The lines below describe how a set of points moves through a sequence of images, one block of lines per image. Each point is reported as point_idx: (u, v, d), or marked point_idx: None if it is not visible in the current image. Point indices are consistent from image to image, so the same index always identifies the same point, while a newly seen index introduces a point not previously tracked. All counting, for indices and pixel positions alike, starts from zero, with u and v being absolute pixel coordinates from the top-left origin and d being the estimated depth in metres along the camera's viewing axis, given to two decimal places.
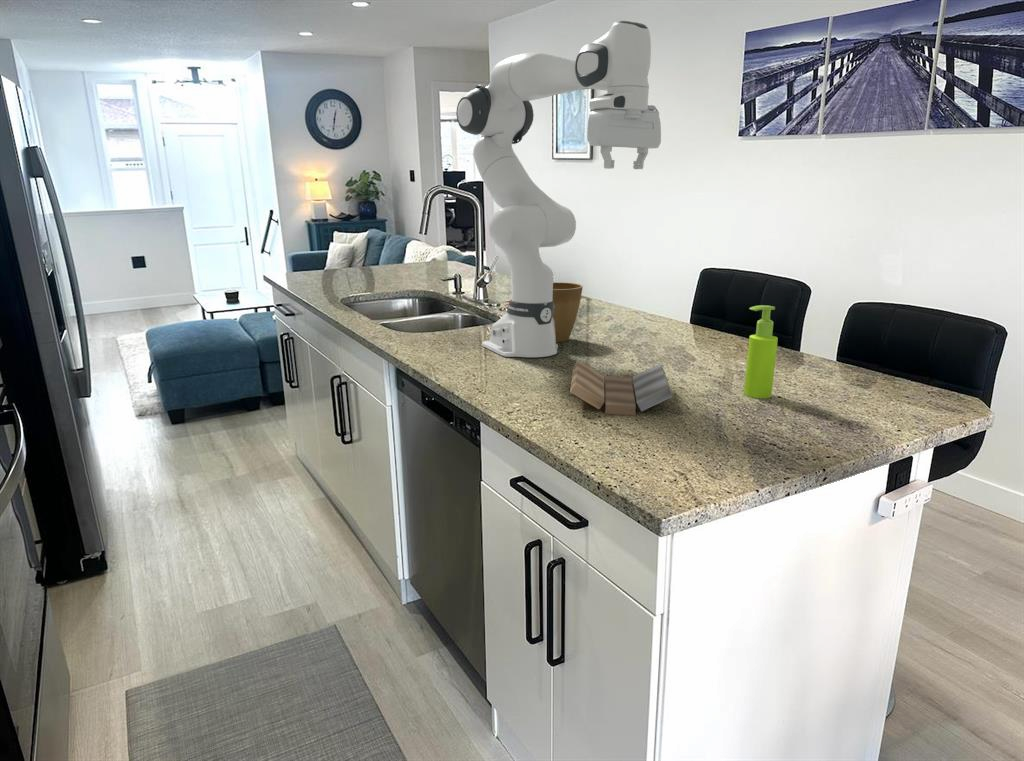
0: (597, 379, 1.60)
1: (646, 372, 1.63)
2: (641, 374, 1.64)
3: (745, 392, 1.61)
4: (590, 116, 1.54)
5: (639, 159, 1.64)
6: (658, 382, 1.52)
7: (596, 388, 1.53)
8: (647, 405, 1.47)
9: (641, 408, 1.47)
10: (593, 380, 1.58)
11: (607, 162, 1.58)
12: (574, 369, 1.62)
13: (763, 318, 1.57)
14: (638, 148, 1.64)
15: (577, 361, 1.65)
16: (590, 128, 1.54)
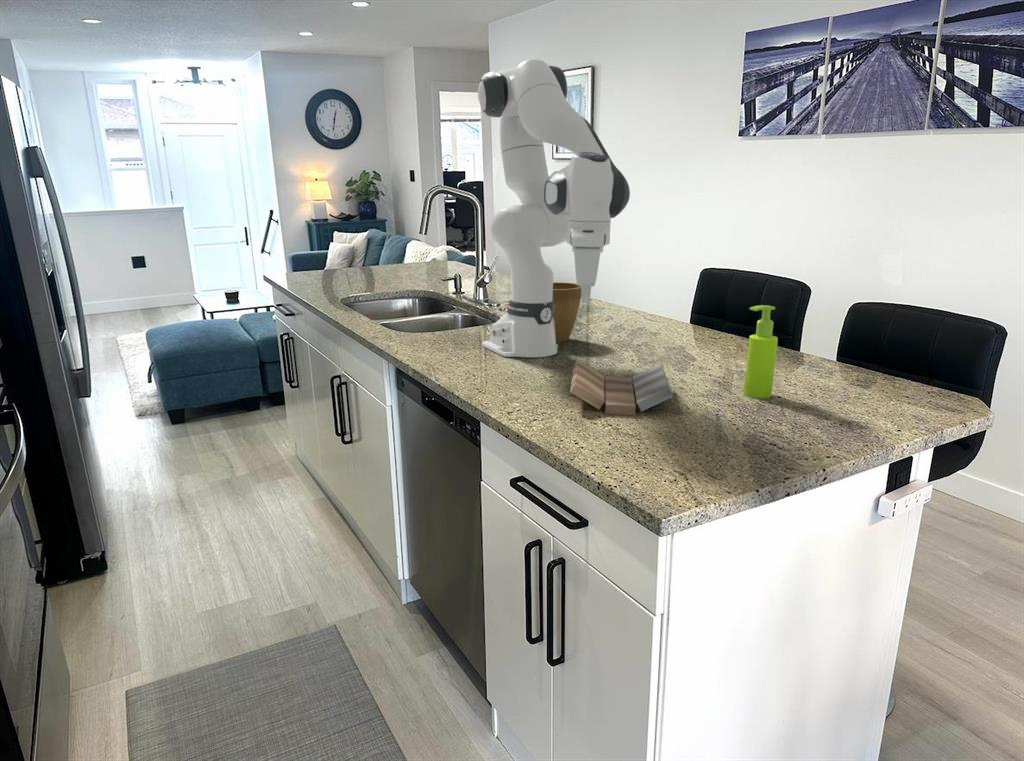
0: (597, 379, 1.60)
1: (646, 372, 1.63)
2: (641, 374, 1.64)
3: (745, 392, 1.61)
4: (578, 255, 1.41)
5: None
6: (658, 382, 1.52)
7: (596, 388, 1.53)
8: (647, 405, 1.47)
9: (641, 408, 1.47)
10: (593, 380, 1.58)
11: (586, 296, 1.51)
12: (574, 369, 1.62)
13: (763, 318, 1.57)
14: None
15: (577, 361, 1.65)
16: (580, 268, 1.41)
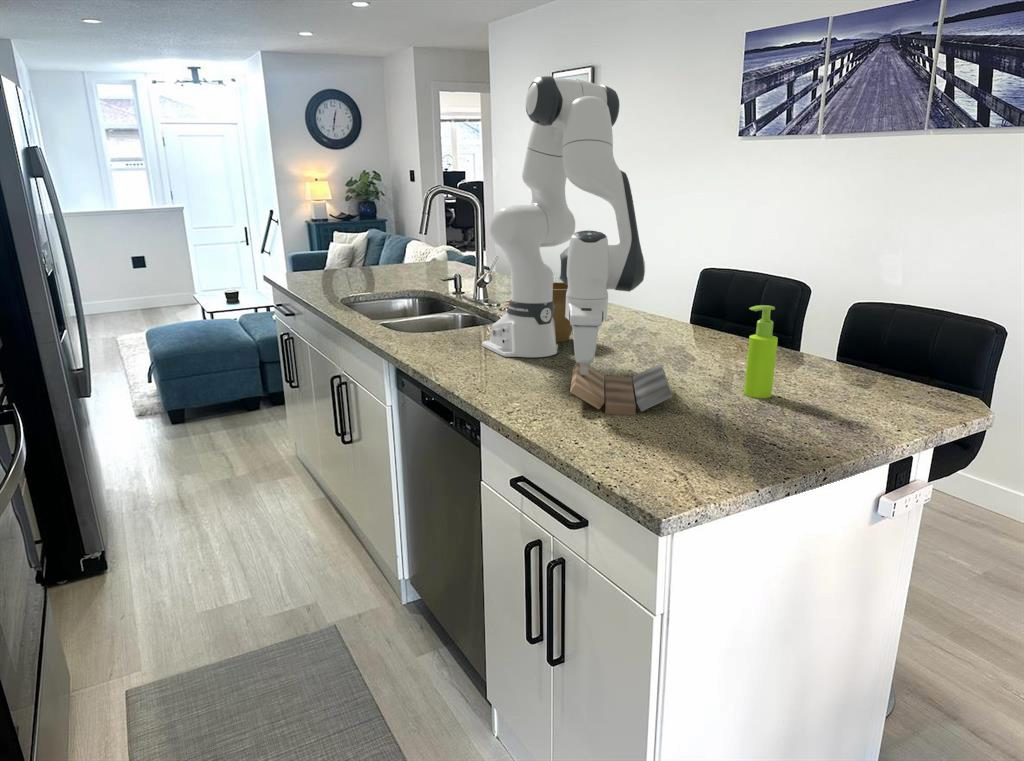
0: (597, 379, 1.60)
1: (646, 372, 1.63)
2: (641, 374, 1.64)
3: (745, 392, 1.61)
4: (577, 334, 1.45)
5: None
6: (658, 382, 1.52)
7: (596, 388, 1.53)
8: (647, 405, 1.47)
9: (641, 408, 1.47)
10: (593, 380, 1.58)
11: (585, 369, 1.55)
12: (574, 369, 1.62)
13: (763, 318, 1.57)
14: None
15: None
16: (579, 346, 1.45)
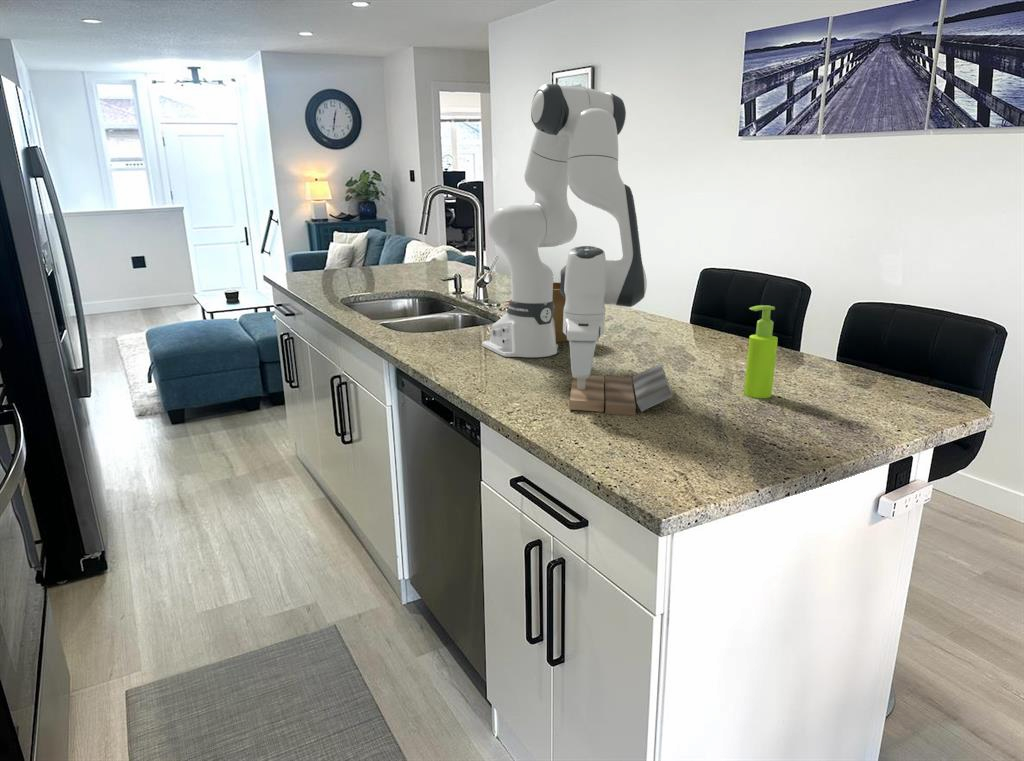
0: (596, 383, 1.61)
1: (646, 372, 1.63)
2: (641, 374, 1.64)
3: (745, 392, 1.61)
4: (574, 349, 1.46)
5: None
6: (658, 382, 1.52)
7: (594, 393, 1.54)
8: (647, 405, 1.47)
9: (641, 408, 1.47)
10: (591, 386, 1.58)
11: (582, 383, 1.55)
12: None
13: (763, 318, 1.57)
14: None
15: None
16: (576, 361, 1.46)
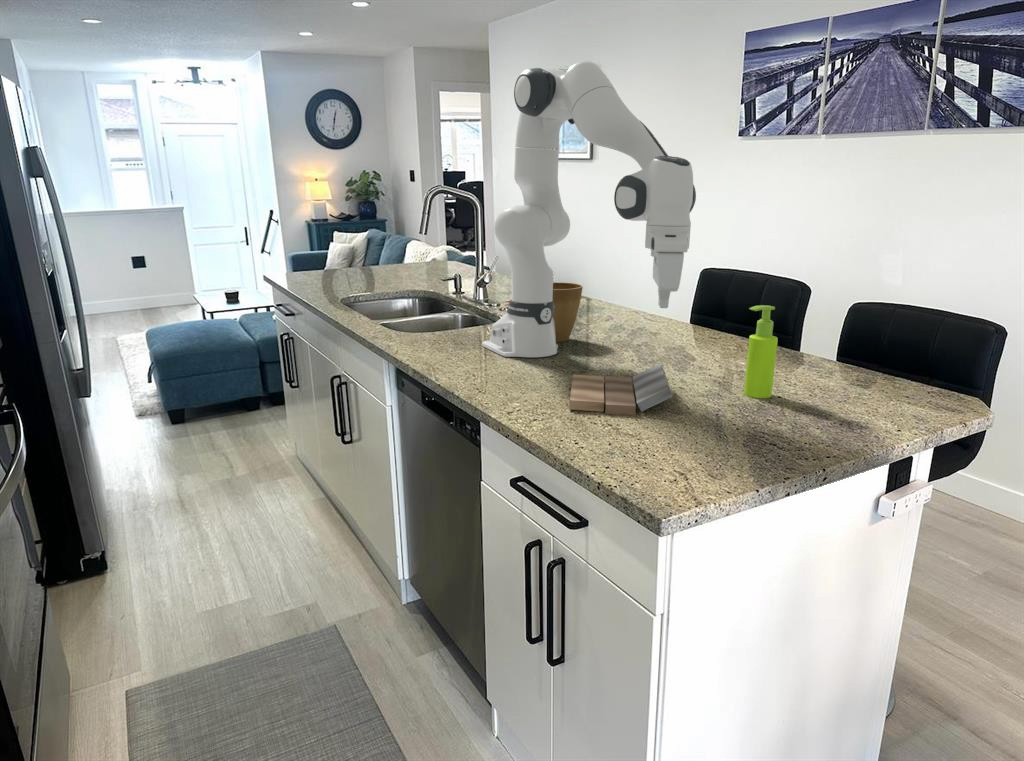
0: (596, 383, 1.61)
1: (646, 372, 1.63)
2: (641, 374, 1.64)
3: (745, 392, 1.61)
4: (662, 260, 1.39)
5: None
6: (658, 382, 1.52)
7: (594, 393, 1.54)
8: (647, 405, 1.47)
9: (641, 408, 1.47)
10: (591, 386, 1.58)
11: (665, 301, 1.49)
12: None
13: (763, 318, 1.57)
14: None
15: None
16: (664, 273, 1.39)
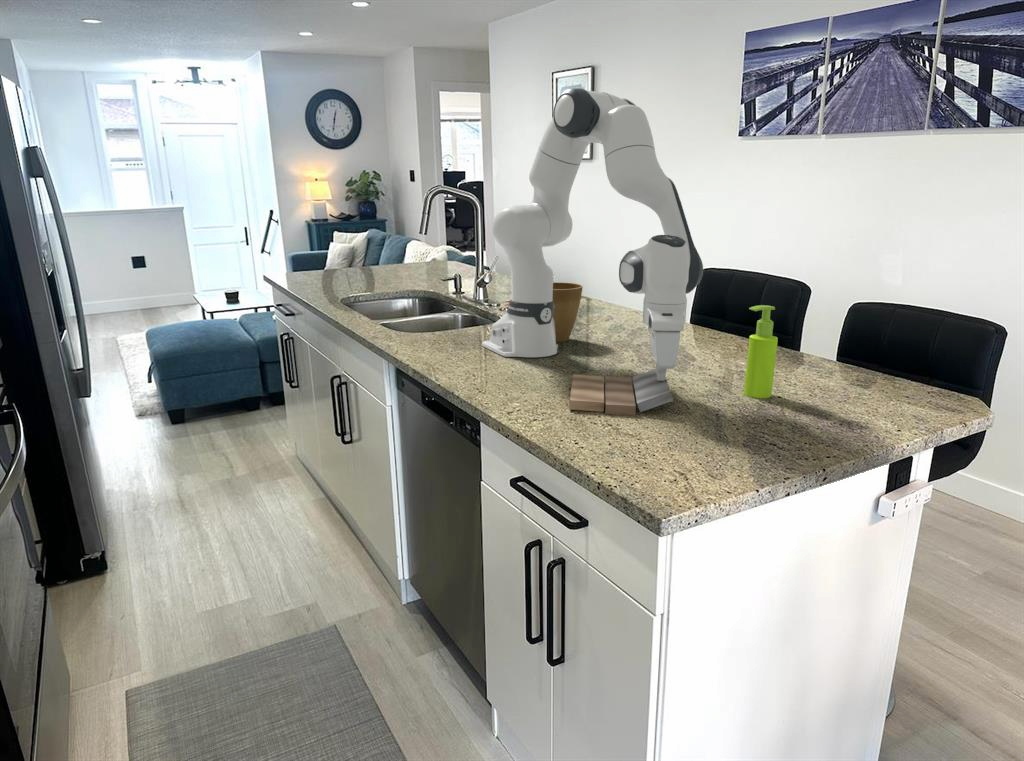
0: (596, 383, 1.61)
1: (647, 374, 1.63)
2: (641, 375, 1.64)
3: (745, 392, 1.61)
4: (659, 339, 1.43)
5: None
6: (659, 384, 1.52)
7: (594, 393, 1.54)
8: (647, 406, 1.47)
9: (640, 409, 1.47)
10: (591, 386, 1.58)
11: (662, 374, 1.53)
12: None
13: (763, 318, 1.57)
14: None
15: None
16: (661, 352, 1.44)
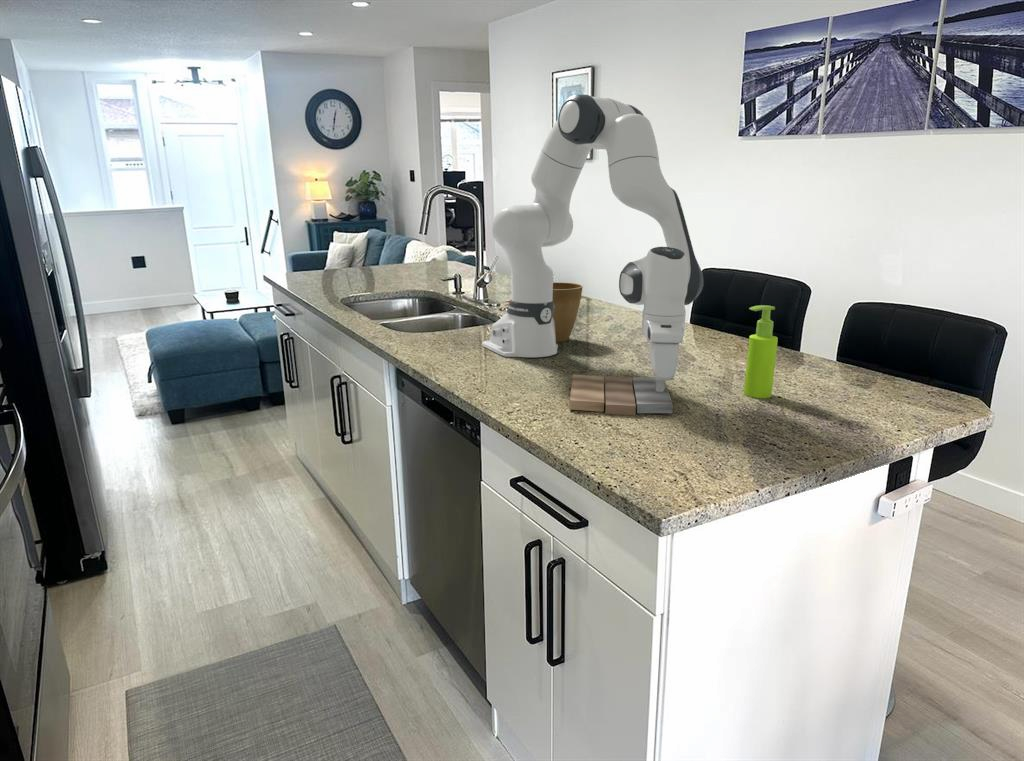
0: (596, 383, 1.61)
1: (648, 379, 1.64)
2: (642, 379, 1.64)
3: (745, 392, 1.61)
4: (658, 351, 1.44)
5: None
6: (661, 393, 1.53)
7: (594, 393, 1.54)
8: (645, 410, 1.47)
9: (638, 410, 1.47)
10: (591, 386, 1.58)
11: (661, 385, 1.54)
12: None
13: (763, 318, 1.57)
14: None
15: None
16: (660, 363, 1.44)
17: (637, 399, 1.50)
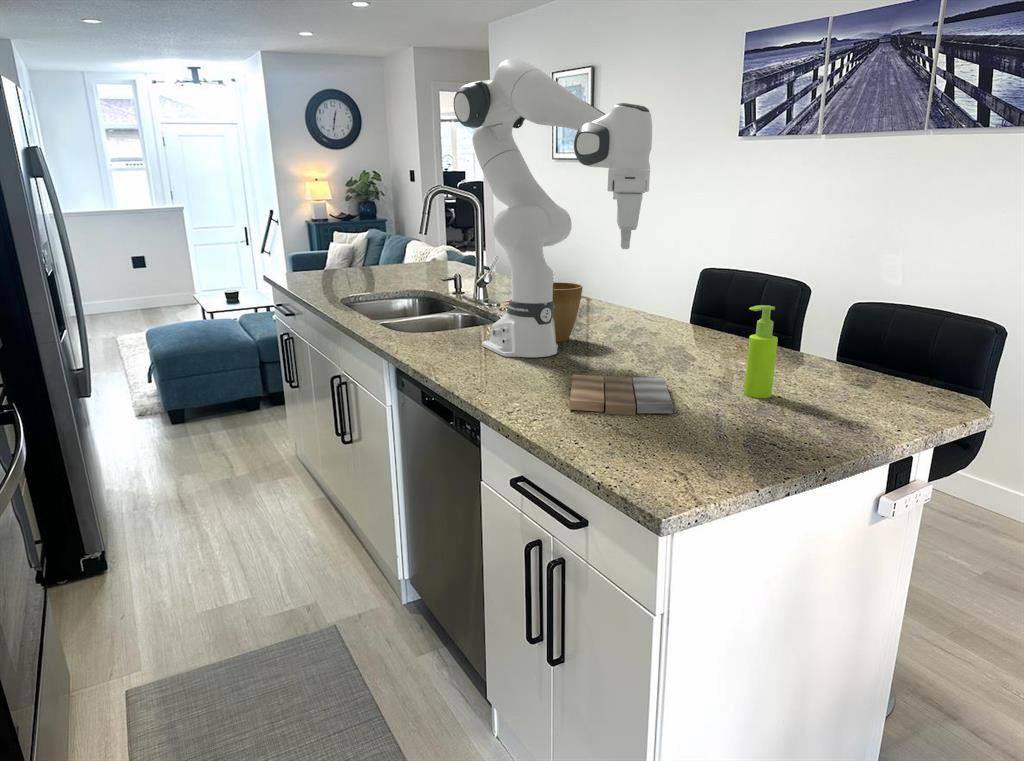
0: (596, 383, 1.61)
1: (648, 379, 1.64)
2: (642, 379, 1.64)
3: (745, 392, 1.61)
4: (621, 200, 1.48)
5: None
6: (661, 393, 1.53)
7: (594, 393, 1.54)
8: (645, 410, 1.47)
9: (638, 410, 1.47)
10: (591, 386, 1.58)
11: (626, 242, 1.58)
12: None
13: (763, 318, 1.57)
14: None
15: None
16: (623, 212, 1.48)
17: (637, 399, 1.50)
